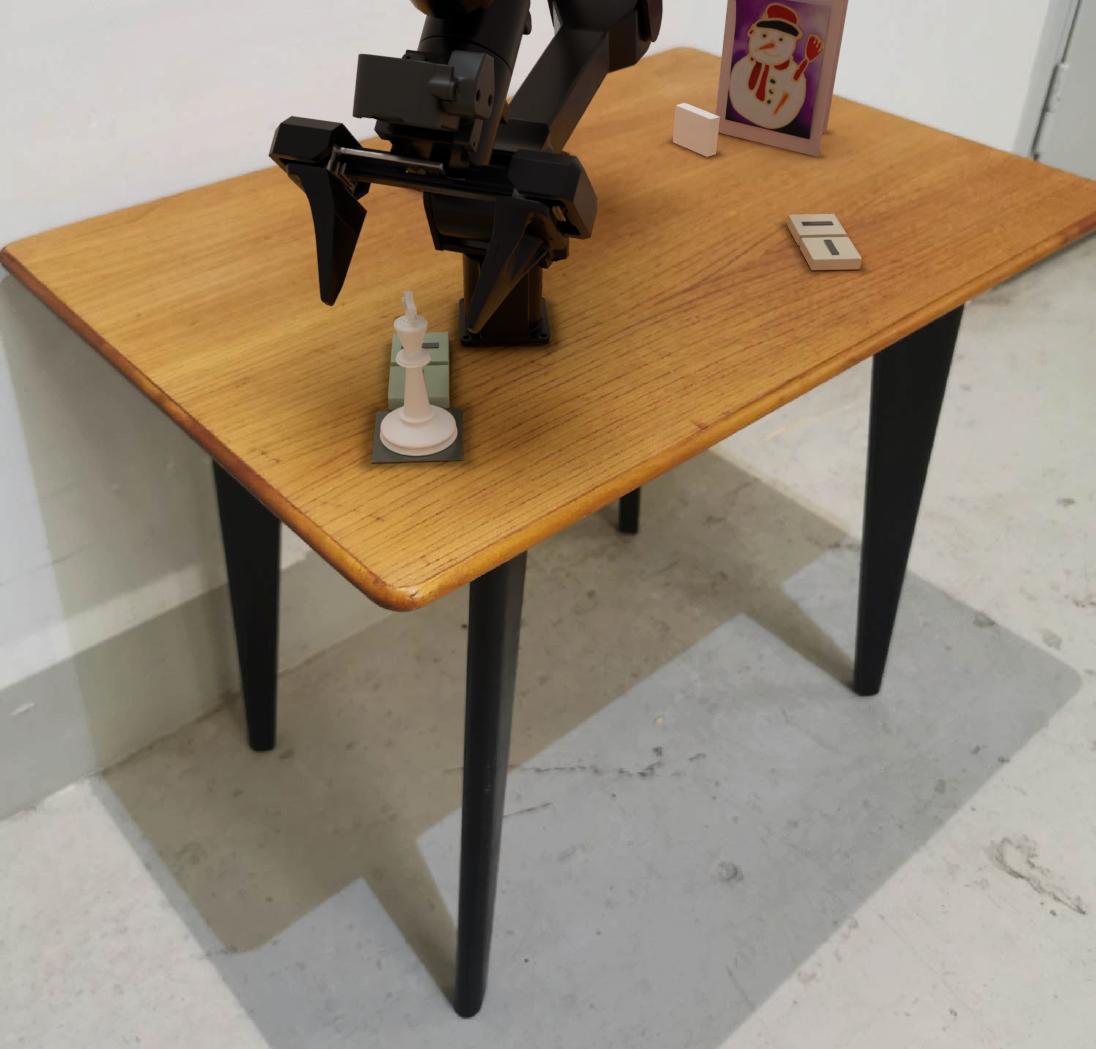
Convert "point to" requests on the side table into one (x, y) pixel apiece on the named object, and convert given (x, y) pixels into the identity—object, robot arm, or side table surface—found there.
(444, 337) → the green and grey panel
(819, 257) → the beige domino tile
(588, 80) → the robot arm
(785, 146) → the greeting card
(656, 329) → the side table surface
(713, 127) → the eraser
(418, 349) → the chess piece
